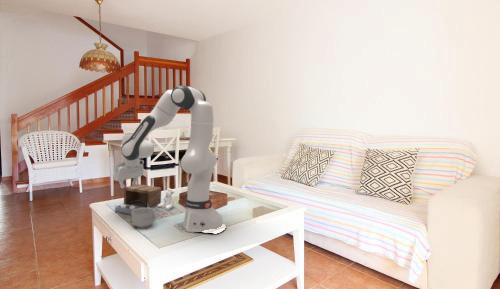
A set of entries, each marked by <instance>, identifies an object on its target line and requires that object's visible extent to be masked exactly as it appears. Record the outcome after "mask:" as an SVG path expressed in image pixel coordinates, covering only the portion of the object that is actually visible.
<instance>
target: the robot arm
mask: <svg viewBox="0 0 500 289" xmlns="http://www.w3.org/2000/svg"><path fill="white" fill-rule="evenodd" d="M180 109H183V110H185V111H188V110H189V112H190V114H191V120H190V121H191V122H190V133H189V134H190V136H189V142H188V145H187V148H186V151H185V154H184V155H183V157H182V158H181V160H180V166H181V168H182V170H183V171H184V172H185V173H187V174H191V176H190V179H189V180H188V182H187V191H186V192H187V193H186V199H185V214H184V219H183V222H182V228H183V229H184V230H185V232H188V233H194V232H202V231H204V230H209V229H217V228H219V227H221V226H222V223H223V216H222V214H221V213H219V212H218V210H216V209H215V208H214V207H213V206H212V205H213V203H214V201H213V200H212V201H211V200H210V190H211V188H210V186H211V182H212V176H213V172H214V169H215V166H216V165H217V161H218V158H217V155H216V154H215V153H214V152H213V151H211V150H209V147H210V144H211V143H212V141H213V133H214V108H213V106H212V104H211V103H210V102H208V101H207V98H206V95H205V94H204V92H203V91H201V90H199V89H197V88H194V87H191V86H186V85H178V86H175V87H173V89H167V90H166V91H165V92H164V93H163V94H162V95H161V97H160V98H159V99H158V100H157V102H156V104H155V105H154V108H153V109H152V110H151V111H150V112H149V113H148V114H147V116H146V117H145V118H144V119H142V121H141V122H140V124H139V125H138V127H137V128H136V129H135V130H134V132H133V133H125V134H124V135H122V139H121V148H120V149H121V156H120V163H117V164H116V166H115V168H114V171H113V177H112V178H113V181H115V182H118V183H119V186H120V188H121V189H124V188H125V187H126V185H125V184H124V182H125V181H126V180H129V179H133V181H132V182H131V184H132V185H136V184H137V182H138V180H139V178H140V177H142V176H143V174H144V163H145V161H144V160H143V159H144V158H145V159H146V158H150V157H152V156H153V154H154V152H155V147H154V144H153V143H152V141H150V140H147V139H146V138H147V137H148V135H149V134H151V132H153V131H154V130H157V129H159V128H163V127H166V126H168V125H170V124H171V122H173V120H174V119H175V117H176V115H177V114H178V111H179V110H180ZM132 185H131V186H132Z"/></svg>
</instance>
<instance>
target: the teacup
mask: <svg viewBox="0 0 500 289" xmlns="http://www.w3.org/2000/svg"><path fill="white" fill-rule="evenodd" d="M155 212H156V209H154V207H152V208H150V207H147V206H146V207H140V208H138V209H135V210H133V211H132V212H131V213H132V215H131V223H132V225H134V226H135V227H136V228H138V229H143V228H148V227H150V226H151V225H152V224H153V223H154V221H155Z"/></svg>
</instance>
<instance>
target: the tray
mask: <svg viewBox="0 0 500 289" xmlns="http://www.w3.org/2000/svg"><path fill="white" fill-rule="evenodd" d="M138 208H141V207H140V206H135V205H129V204H124V203H123V204H120V205H117V206H115V207H114V213H117V214H124V215H129V216H132V213H131V212H132V211H133V210H135V209H138Z"/></svg>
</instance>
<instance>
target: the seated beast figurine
mask: <svg viewBox="0 0 500 289" xmlns="http://www.w3.org/2000/svg"><path fill="white" fill-rule="evenodd" d="M174 193H175V191H174V190H173V189H172V188H169V187H168V188H167V189H166V191H165V196H164V198H163V202H161V203H160V204H158V205H157V206H156V207H157V209H165V211H166V212H167V211H169V210H171V209H172V208H174V206H175V202H174V200H173V197H172V195H173V194H174Z"/></svg>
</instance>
